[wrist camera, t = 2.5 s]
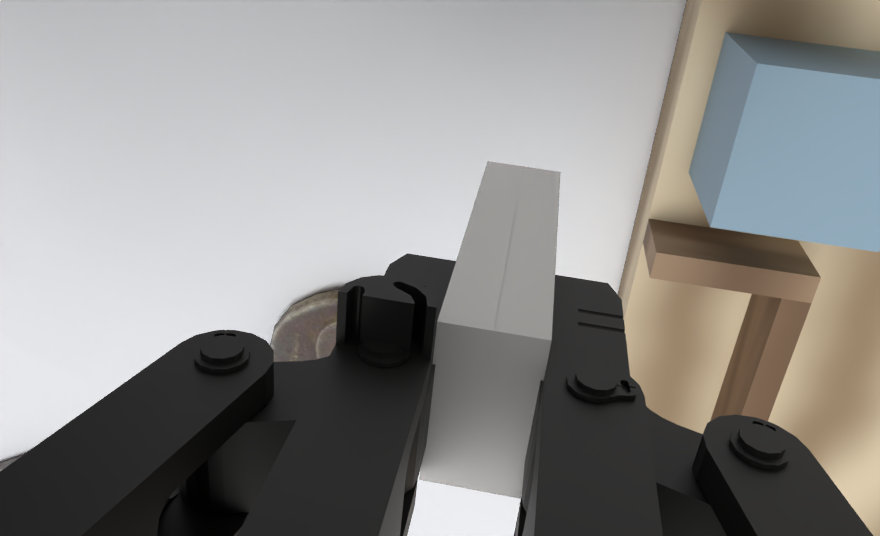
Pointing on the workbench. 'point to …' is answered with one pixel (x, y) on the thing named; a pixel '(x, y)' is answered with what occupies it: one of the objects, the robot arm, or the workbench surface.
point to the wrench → (299, 333)
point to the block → (792, 142)
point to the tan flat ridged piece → (754, 277)
